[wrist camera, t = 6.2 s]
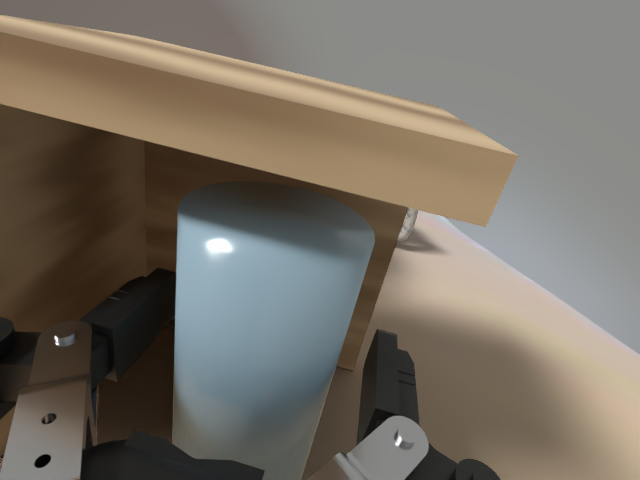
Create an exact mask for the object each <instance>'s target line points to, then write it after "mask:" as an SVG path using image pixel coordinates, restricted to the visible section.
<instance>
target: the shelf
mask: <svg viewBox="0 0 640 480" xmlns="http://www.w3.org/2000/svg"><path fill="white" fill-rule="evenodd" d="M517 158H518V155H516V154H515V153H513V152H511V151H510V150H508V149H507V148H505V147H503V146H501V145H500V144H498V143H497V142H495V141H494V140H492V139H490V138H489V137H487V136H485V135H484V134H482V133H480V132H479V131H477V130H476V129H474V128H472V127H471V126H469V125H467V124H466V123H464V122H463V121H461V120H459V119H458V118H456V117H454V116H453V115H451V114H450V113H448V112H446V111H445V110H443V109H441V108H440V107H438V106H434V105H430V104H425V103H421V102H416V101H412V100H408V99H404V98H399V97H395V96H391V95H387V94H382V93H378V92H374V91H369V90H365V89H361V88H357V87H353V86H348V85H344V84H340V83H335V82H331V81H327V80H323V79H318V78H314V77H310V76H305V75H301V74H297V73H293V72H288V71H284V70H280V69H276V68H271V67H267V66H263V65H259V64H254V63H250V62H246V61H241V60H237V59H233V58H229V57H224V56H220V55H216V54H212V53H207V52H203V51H199V50H194V49H190V48H186V47H182V46H177V45H173V44H169V43H165V42H160V41H155V40H152V39H147V38H143V37H139V36H132V35H126V34H120V33H113V32H107V31H100V30H94V29H88V28H81V27H75V26H68V25H62V24H55V23H49V22H43V21H36V20H29V19H23V18H17V17H11V16H4V15H0V317H3V318H7V319H9V320H11V321H12V323H13V325H14V329H15V331H19V332H43V331H44V330H46V329H47V328H49V327H50V326H52V325H54V324H57V323H60V322H64V321H79V320H80V319H81V318H82V317H84V316H85V315H86V314H88V313H89V312H90V311H91V310H93V309H94V308H95V307H96V306H98V305H99V304H100V303H101V302H103V301H104V300H105V299H106V298H109V297H110V295H111V294H113V293H114V292H115V291H118V289H119V288H120V287H122V286H123V285H124V284H125V283H127V282H128V281H130V280H133V279H135V278H138V277H140V276H144V277H147V276H148V275H149V274H150V273H152V272H153V271H154V270H155V269H157V268H163V269H167V270H170V271H174V272H176V265H177V224H178V206H179V204H180V202H181V200H182V199H183V198H184V197H185V196H186V195H187V194H189V193H190V192H192V191H194V190H196V189H198V188H201V187H204V186H207V185H211V184H215V183H221V182H230V181H261V182H271V183H278V184H285V185H290V186H295V187H299V188H303V189H307V190H310V191H313V192H317V193H320V194H322V195H325V196H328V197H330V198H332V199H335V200H337V201H339V202H341V203H343V204H345V205H347V206H348V207H350V208H351V209H353V210H354V211H356V212H357V213H359V214H360V215H361V216H362V217H363V218H364V219H365V220H366V221H367V222H368V223H369V224H370V226H371V227H372V229H373V232H374V234H375V243H374V246H373V250H372V253H371V256H370V259H369V263H368V266H367V269H366V272H365V275H364V279H363V282H362V285H361V288H360V292H359V295H358V298H357V301H356V304H355V308H354V311H353V314H352V317H351V321H350V324H349V327H348V330H347V333H346V337H345V340H344V343H343V346H342V350H341V353H340V356H339V359H338V362H337V366H338V367H342V368H345V369H349V370H352V371H353V368H354V365H355V363H356V360H357V357H358V354H359V351H360V348H361V345H362V342H363V339H364V336H365V333H366V330H367V327H368V324H369V322H370V319H371V316H372V313H373V310H374V307H375V304H376V301H377V298H378V295H379V292H380V289H381V286H382V284H383V281H384V278H385V275H386V272H387V269H388V266H389V263H390V260H391V257H392V254H393V251H394V248H395V245H396V243H397V240H398V237H399V234H400V231H401V228H402V225H403V222H404V219H405V216H406V213H407V210H408V208H412V209H416V210H420V211H424V212H428V213H432V214H436V215H440V216H444V217H448V218H452V219H456V220H460V221H464V222H468V223H472V224H476V225H479V226H483V227H486V225H487V223H488V220H489V219H490V216H491V214H492V212H493V210H494V208H495V205H496V203H497V201H498V199H499V197H500V195H501V193H502V190H503V188H504V186H505V184H506V182H507V179H508V177H509V175H510V173H511V171H512V169H513V166H514V164H515V162H516V160H517ZM173 319H174V320H175V316H174V317H173ZM15 407H16V405H15V406H14V407H13V408H12V409H11V410H10V411H9V412H8V413H7V414H6V415H5V416H4V417H3V418H2V419H1V420H0V457H1V456H2V455H3V454H4V453H5V450H6V445H7V441H8V437H9V433H10V429H11V424H12V420H13V416H14V412H15Z"/></svg>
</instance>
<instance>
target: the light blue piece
mask: <svg viewBox="0 0 640 480" xmlns="http://www.w3.org/2000/svg"><path fill="white" fill-rule="evenodd" d="M374 243H375V234H374V232H373V229H372V227H371V226H370V224H369V223H368V222H367V221H366V220H365V219H364V218H363V217H362V216H361V215H360V214H359V213H357V212H356V211H354V210H353V209H351V208H350V207H348V206H347V205H345V204H343V203H341V202H339V201H337V200H335V199H332V198H330V197H328V196H325V195H322V194H320V193H317V192H313V191H310V190H307V189H303V188H299V187H295V186H290V185H285V184H278V183H271V182H261V181H230V182H221V183H215V184H211V185H207V186H204V187H201V188H198V189H196V190H194V191H192V192H190V193H189V194H187V195H186V196H185V197H184V198H183V199H182V200H181V202H180V204H179V206H178V224H177V265H176V305H175V346H174V387H173V427H172V444H174V445H175V446H176V447H178V448H179V449H181V450H182V451H184V452H185V453H187V454H188V455H190V456H191V457H193V458H195V459H215V460H234V461H237V462H240V463H243V464H246V465H249V466H253V467H256V468H259V469H262V470H265V472H264V477H263V480H301V478H302V475H303V472H304V469H305V466H306V462H307V459H308V456H309V453H310V449H311V446H312V443H313V440H314V437H315V433H316V430H317V427H318V424H319V420H320V417H321V414H322V411H323V408H324V404H325V401H326V398H327V395H328V391H329V388H330V385H331V382H332V379H333V375H334V372H335V369H336V366H337V362H338V359H339V356H340V353H341V350H342V346H343V343H344V340H345V337H346V333H347V330H348V327H349V324H350V321H351V317H352V314H353V311H354V308H355V304H356V301H357V298H358V295H359V292H360V288H361V285H362V282H363V279H364V275H365V272H366V269H367V266H368V263H369V259H370V256H371V253H372V250H373V246H374Z"/></svg>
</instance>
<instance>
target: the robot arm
mask: <svg viewBox="0 0 640 480" xmlns="http://www.w3.org/2000/svg"><path fill="white" fill-rule="evenodd" d="M175 305H176V272H174V271H170V270H167V269H163V268H157V269H155V270H154V271H153V272H152V273H150V274H149V275H148V276H147V277H144V276H140V277H138V278H135V279H133V280H130V281H128V282H127V283H125V284H124V285H123V286H122V287H120V288H119V289H118V291H115V292H114V293H113V294H111V295H110V297H109V298H106V299H105V300H104V301H103V302H101V303H100V304H99V305H98V306H96V307H95V308H94V309H93V310H91V311H90V312H89V313H88V314H86V315H85V316H84V317H82V318H81V319H80V320H79V321H64V322H60V323H57V324H54V325H52V326H50V327H49V328H47V329H46V330H44V331H43V332H19V331H15V329H14V325H13V323H12V321H11V320H9V319H7V318H3V317H0V420H1V419H2V418H3V417H4V416H5V415H6V414H7V413H8V412H9V411H10V410H11V409H12V408H13V407H14V406H15V405H16V407H15V412H14V416H13V420H12V424H11V429H10V433H9V437H8V441H7V445H6V450H5V454H4V458H3V462H2V466H1V471H0V480H263V477H264V472H265V470H262V469H259V468H256V467H253V466H249V465H246V464H243V463H240V462H237V461H234V460H215V459H195V458H193V457H191V456H190V455H188V454H187V453H185V452H184V451H182V450H181V449H179V448H178V447H176V446H175V445H174V444H172V443H171V442H169V441H168V440H166V439H163V438H160V437H157V436H154V435H151V434H148V433H144V432H141V431H138V430H135V429H134V431H133V432H132V434H131V435H130V436H129V438H128V439H127V440H118V441H111V442H105V443H102V444H98V445H97V421H98V384H99V383H100V382H101V381H102V380H103V379H104V378H107V379H110V380H113V381H116V382H117V381H118V380H119V379H120V378H121V376H122V375H123V374H124V373H125V372H126V371H127V370H128V368H129V367H130V366H131V365H132V364H133V363H134V362H135V361H136V359H137V358H138V357H139V356H140V355H141V354H142V353H143V352H144V350H145V349H146V348H147V347H148V346H149V345H150V344H151V343H152V341H153V340H154V339H155V338H156V337H157V336H158V335H159V333H160V332H161V331H162V330H163V329H164V328H165V327H166V326H167V324H168V323H169V322H170V321H171V320H172V319H173V317H174V316H175ZM415 386H416V382H415V371H414V363H413V361H412V359H411V357H410V356H409V354H408V352H407V351H403V350H399V349H397V335H396V334H393V333H390V332H386V331H383V330H379V329H377V330H376V333H375V335H374V338H373V341H372V344H371V346H370V349H369V352H368V355H367V358H366V361H365V365H364V369H363V377H362V389H361V400H360V412H359V424H358V436H357V446H356V447H355V448H353V449H352V450H351V451H350V452H349V453H347V454H344V453H343V452H340V453H338V454H336V455H335V456H334V457H332V458H331V459H330V460H329V461H328V462H327V463H325V464H324V465H323V466H322V467H321V468H319V469H318V470H317V471H316V472H315V473H314V474H312V475H311V476H310V477H309V478H308V479H306V480H500V478H499V477H498V476H497V474H496V473H495V472H494V471H493V470H492V469H491V468H489V467H488V466H487V465H485V464H484V463H482V462H480V461H477V460H474V459H464V460H462V461H460V462H459V463H458V464H457V463H456V462H454V461H452V460H451V459H449V458H448V457H446V456H444V455H443V454H441V453H440V452H438V451H437V450H436V449H434V448H433V447H432V446H431V445H430V444H429V443H428V439H427V437H426V434H425V433H424V431H423V430H422V428H421V427H420V425H419V416H418V404H417V393H416V387H415Z"/></svg>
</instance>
